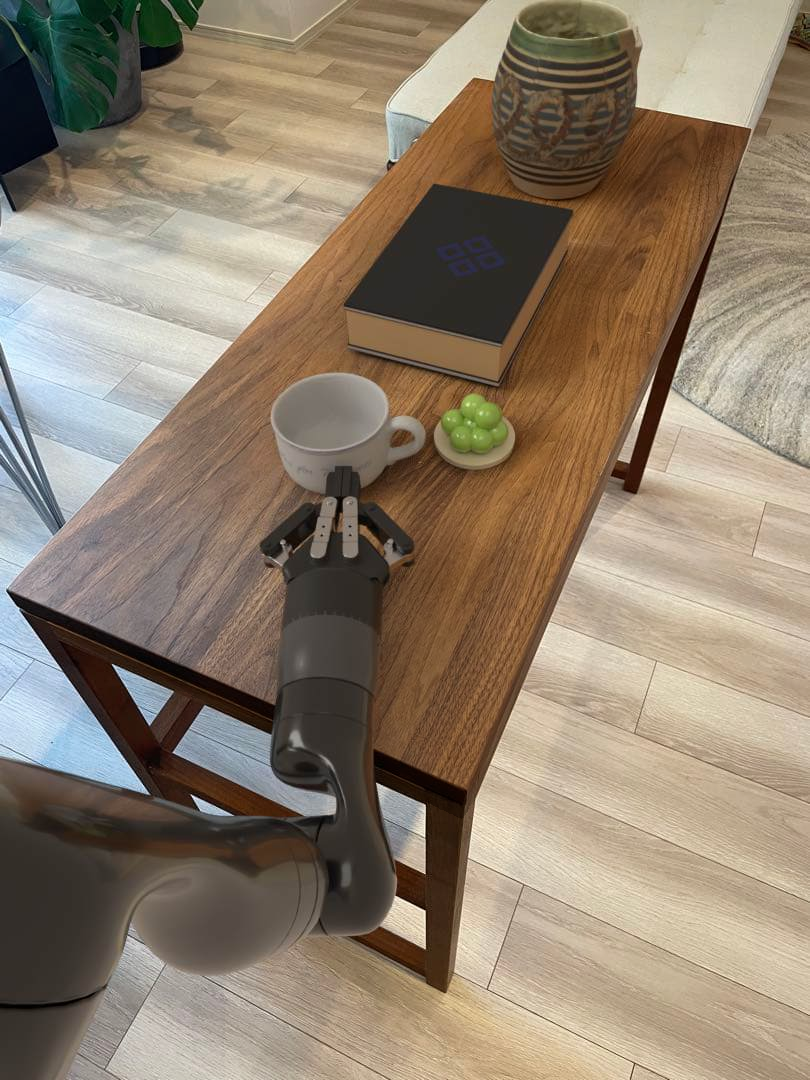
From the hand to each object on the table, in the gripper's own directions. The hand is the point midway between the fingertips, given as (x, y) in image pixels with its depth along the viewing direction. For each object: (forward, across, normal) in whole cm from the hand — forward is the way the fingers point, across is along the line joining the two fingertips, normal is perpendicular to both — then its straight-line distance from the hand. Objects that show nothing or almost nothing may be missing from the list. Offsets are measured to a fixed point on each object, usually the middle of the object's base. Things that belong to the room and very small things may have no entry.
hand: (344, 472), depth 72 cm
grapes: (+10, -12, +6) cm, 16 cm away
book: (+31, -11, +6) cm, 34 cm away
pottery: (+58, -24, +6) cm, 63 cm away
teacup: (+5, 0, +6) cm, 8 cm away
